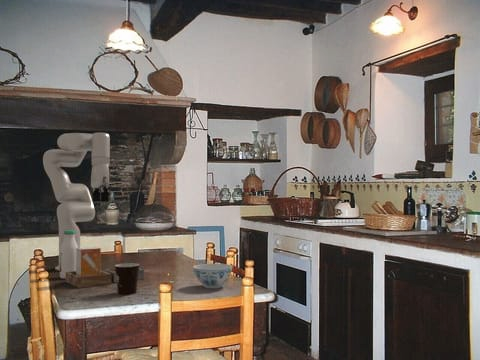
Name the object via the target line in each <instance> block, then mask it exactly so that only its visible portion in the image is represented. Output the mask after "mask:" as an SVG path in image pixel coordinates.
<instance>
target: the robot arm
mask: <svg viewBox="0 0 480 360" xmlns="http://www.w3.org/2000/svg"><path fill="white" fill-rule="evenodd" d="M110 139H111V137H110V134H109V133H107V132H94V133H84V132H83V133H81V132H70V133H69V132H68V133H63V134H61V135H60V136H59V137H58V138H57V147H58V148H57V149H48V150H46V151H45V152H44V154H43V157H42V163H43V168H44V171H45V173H46V175H47V177H48V178H49V179H50V180H49V181H50V182H51V186H52V190H53V193H54V196H55V199H56V201H57V202H58V203H60V204H59V205H58V206H57V208H56V216H57V217H56V218H57V222H58V265H57V266H55V271H59V272H60V249H61V246H62V244H63V241H64V231H66V230H74V231H75V241H76V243H77V245H78V248H81V229H80V228H79V226H78V225H77V224H76V223H85V222H91V221H92V220H94V218H95V215H96V210H95V209H96V208H95V206H94V202H101V203H103V202H104V203H105V202H106V203H107V202H109V195H110V194H109V193H110V168H109V166H110V164H111V161H110V160H111V159H110V157H111V155H110V153H111V151H110V150H111V147H110V146H111V144H110V143H111V140H110ZM59 148H60V149H59ZM87 152H91V166H92V167H91V176H90V187H91V188H92V195H91V192H90V190H89V187H87V186H86V184H83V183H74V182H71V180H70V177H69V174H68V173H67V172H66V171H65V170H64V169H62V167H65V168H76V167H79V166H80V165H81V163H82V161H83V160H84V158H85V156H86V155H87ZM100 191H101V192H100Z"/></svg>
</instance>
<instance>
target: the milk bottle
mask: <svg viewBox="0 0 480 360" xmlns="http://www.w3.org/2000/svg"><path fill="white" fill-rule="evenodd" d="M76 248H78V245H77V243H76V241H75V231H74V230H66V231H64V241H63V244H62V246H61V249H60V271H59V278H60V279H65V280H66V272H72V271H76Z"/></svg>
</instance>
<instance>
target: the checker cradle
mask: <svg viewBox="0 0 480 360" xmlns="http://www.w3.org/2000/svg"><path fill="white" fill-rule="evenodd" d="M103 271H104V272H107V273H110V274H111V283H115V282H117V279H116V271H115V267H114V268H105V269H103ZM141 280H145V271H144V269H142V268H140V267H139V273H138V281H141Z"/></svg>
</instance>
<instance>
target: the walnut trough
mask: <svg viewBox="0 0 480 360" xmlns="http://www.w3.org/2000/svg"><path fill="white" fill-rule="evenodd" d="M65 283H67V284H69V285H70V286H71V285H72V286H73V287H75V288H77V289H81V288H90V287H91V288H92V287H100V286H108V285H109V284H110V285H112V282H111V274H110V273H107V272H104V270H101V271H100V275H94V276H84V277H79V276H77V275H76V271H72V272H66V279H65Z"/></svg>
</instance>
